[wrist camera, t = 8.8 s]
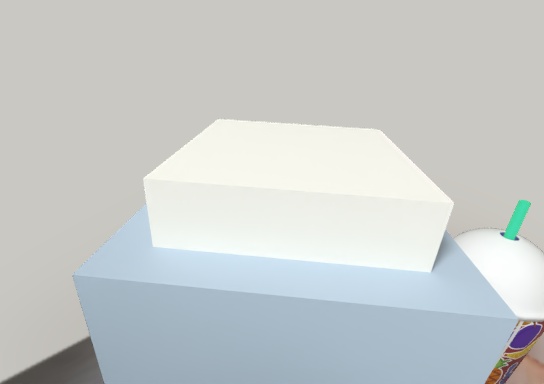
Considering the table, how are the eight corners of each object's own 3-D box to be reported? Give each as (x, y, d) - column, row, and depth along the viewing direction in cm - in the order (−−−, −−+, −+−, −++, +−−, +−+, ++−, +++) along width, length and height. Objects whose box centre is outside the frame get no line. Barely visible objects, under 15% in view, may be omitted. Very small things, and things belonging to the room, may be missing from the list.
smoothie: (516, 435, 25) (654, 237, 17) (420, 436, 25) (511, 234, 17) (458, 347, 33) (533, 179, 24) (383, 347, 33) (433, 176, 24)
